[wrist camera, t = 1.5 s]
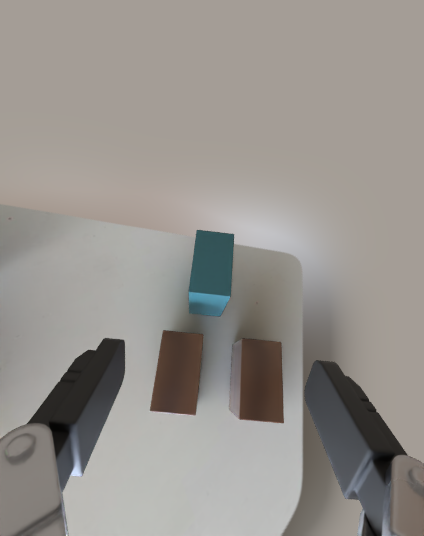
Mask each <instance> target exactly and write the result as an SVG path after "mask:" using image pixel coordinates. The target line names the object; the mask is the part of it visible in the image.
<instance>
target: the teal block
mask: <svg viewBox="0 0 424 536" xmlns="http://www.w3.org/2000/svg"><path fill="white" fill-rule="evenodd" d="M233 247H234V234H228V233H220V232H211V231H202V230H197V233H196V240H195V248H194V255H193V263H192V270H191V278H190V286H189V313H192V314H202V315H212V316H221V314H222V312H223V310H224V308H225V306H226V304H227V303H228V301H229V299H230V297H231V282H232V264H233Z"/></svg>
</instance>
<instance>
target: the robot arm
mask: <svg viewBox="0 0 424 536" xmlns="http://www.w3.org/2000/svg"><path fill="white" fill-rule="evenodd" d="M124 373H125V342H124V340H120V339H110V338H104V339H103V340H102V342H101V343H100V345H99V346H98V348H97V349H96V351H95V350H87V351H86V352H84V353H83V354H82V355H80V356H79V357H77V358H76V359H75V360H74V362H73V363H72V365H71V366H70V367H69V369H68V371H67V372H66V373H65V374H64V375H63V377H62V378H61V380H60V382H58V383H57V385H56V386H55V387H54V389H53V390H52V391H51V393H50V394H49V395H48V397H47V398H46V399H45V401H44V402H43V403H42V405H41V406H40V408H39V409H38V410H37V412H36V413H35V414H34V416H33V417H32V418H31V420H30V421H29V422H28V423H27V424H26V425H23V426H20V427H18V428H16V429H14V430H12V431H11V432H9V433H8V434H6V435H5V436H3V437H2V438H1V439H0V536H69V535H68V529H67V522H66V515H65V508H64V502H63V495H62V492H63V490H64V488H65V486H66V483H67V481H68V479H69V477H70V475H71V476H82V474H83V472H84V470H85V468H86V465H87V463H88V461H89V458H90V456H91V454H92V451H93V449H94V447H95V445H96V442H97V440H98V438H99V435H100V433H101V431H102V428H103V426H104V424H105V422H106V419H107V417H108V415H109V412H110V410H111V408H112V406H113V403H114V401H115V399H116V396H117V394H118V392H119V389H120V387H121V385H122V382H123V378H124ZM305 401H306V404H307V406H308V409H309V411H310V414H311V416H312V419H313V421H314V424H315V426H316V428H317V431H318V433H319V436H320V438H321V440H322V443H323V446H324V448H325V451H326V453H327V455H328V458H329V460H330V463H331V465H332V468H333V470H334V473H335V475H336V477H337V480H338V482H339V485H340V487H341V490H342V492H343V495H344V497H345V499H357V500H359V501H360V503H361V505H362V507H363V510H362V512H361V514H360V519H359V527H358V535H357V536H424V463H422V462H420V461H419V460H417V459H415V458H412V457H410V456H408V455H407V454H406V452H405V451H404V449H403V448H402V446H401V445H400V443H399V442H398V441H397V439H396V438H395V436H394V435H393V434H392V432H391V431H390V429H389V428H388V426H387V425H386V423H385V422H384V420H383V419H382V418H381V416H380V415H379V413H377V412H376V409H375V407H374V406H373V405H372V403H371V402H369V399H368V397H367V396H366V395H365V393H364V392H363V390H362V389H361V387H360V386H358V385H357V384H356V383H355V382H354V381H353V380H352V379H351V378H350V377H347V376H345V375H344V374H343V372H342V371H341V369H340V368H339V366H338V365H337V364H336V363H335V362H328V361H318V360H316V361H315V362H314V363H313V366H312V369H311V372H310V375H309V377H308V380H307V383H306V386H305Z"/></svg>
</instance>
